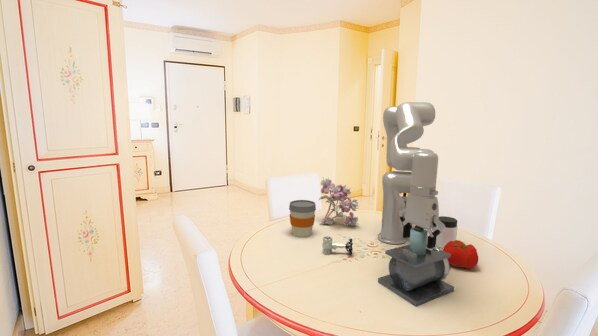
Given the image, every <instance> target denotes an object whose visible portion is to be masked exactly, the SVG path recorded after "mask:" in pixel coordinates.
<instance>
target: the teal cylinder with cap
mask: <svg viewBox="0 0 598 336" xmlns="http://www.w3.org/2000/svg"><path fill="white" fill-rule="evenodd" d="M428 235H429V233H428V231H427V229H424V228H421V227H419V226H416V225H414V227H412V228H411V230H410V237H409V243H408V245H409V251H411V252H413V253H415V254H417V255H419V256H422V255H425V254H426V246H427V240H428Z"/></svg>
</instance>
